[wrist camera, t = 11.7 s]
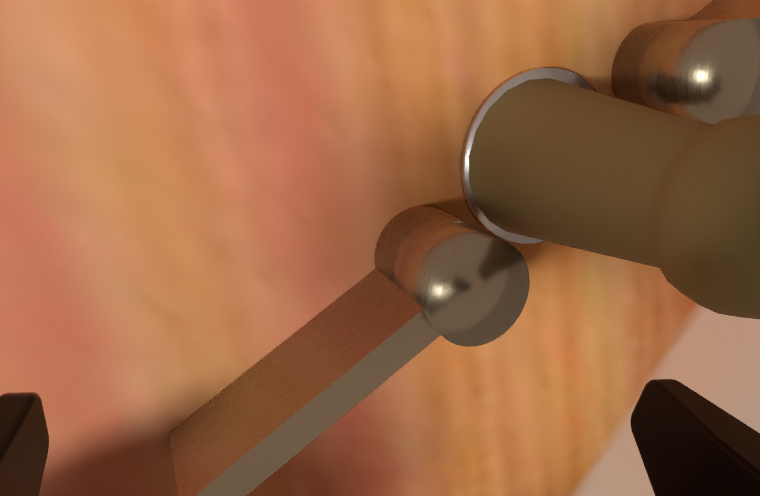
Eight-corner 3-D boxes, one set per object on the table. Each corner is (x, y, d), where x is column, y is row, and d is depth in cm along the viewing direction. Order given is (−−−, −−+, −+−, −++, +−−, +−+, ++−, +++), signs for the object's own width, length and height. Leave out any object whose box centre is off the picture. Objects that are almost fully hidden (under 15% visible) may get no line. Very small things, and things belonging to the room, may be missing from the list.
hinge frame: (237, 497, 24) (263, 588, 20) (112, 382, 21) (113, 461, 17) (845, -5, 28) (964, -13, 25) (817, -161, 25) (948, -198, 21)
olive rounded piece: (623, 113, 25) (944, 156, 15) (561, 252, 26) (830, 375, 16) (508, 50, 22) (813, 56, 13) (443, 208, 23) (683, 325, 14)
